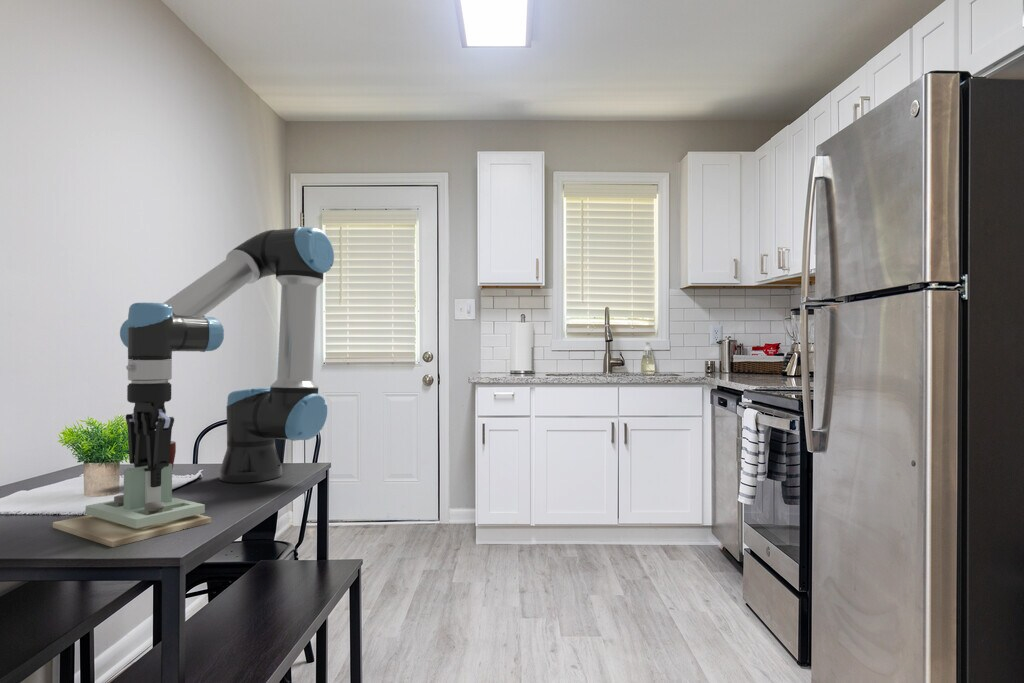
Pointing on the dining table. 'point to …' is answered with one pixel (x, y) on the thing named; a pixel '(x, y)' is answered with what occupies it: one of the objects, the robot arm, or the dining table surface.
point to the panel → (144, 515)
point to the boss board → (123, 534)
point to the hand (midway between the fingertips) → (148, 502)
